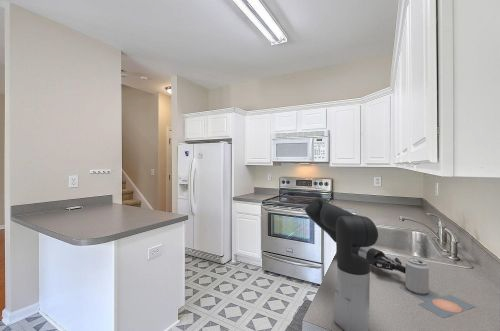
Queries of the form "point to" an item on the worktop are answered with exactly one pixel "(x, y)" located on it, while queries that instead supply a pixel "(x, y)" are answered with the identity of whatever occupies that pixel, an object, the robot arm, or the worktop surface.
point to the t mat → (441, 303)
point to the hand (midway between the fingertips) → (407, 271)
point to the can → (417, 275)
